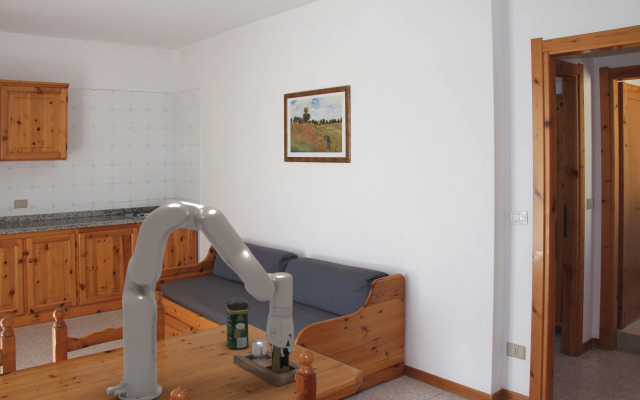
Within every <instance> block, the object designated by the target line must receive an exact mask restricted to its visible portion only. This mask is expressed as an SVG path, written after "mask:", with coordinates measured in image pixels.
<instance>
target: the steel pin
mask: <svg viewBox="0 0 640 400" xmlns="http://www.w3.org/2000/svg"><path fill="white" fill-rule="evenodd" d="M267 343H268V342H267V341H266V339H262V338H260V339H253V340H252V341H251V351H252V361H254V362H260V361H264V360H266V350H267V345H268V344H267Z"/></svg>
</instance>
